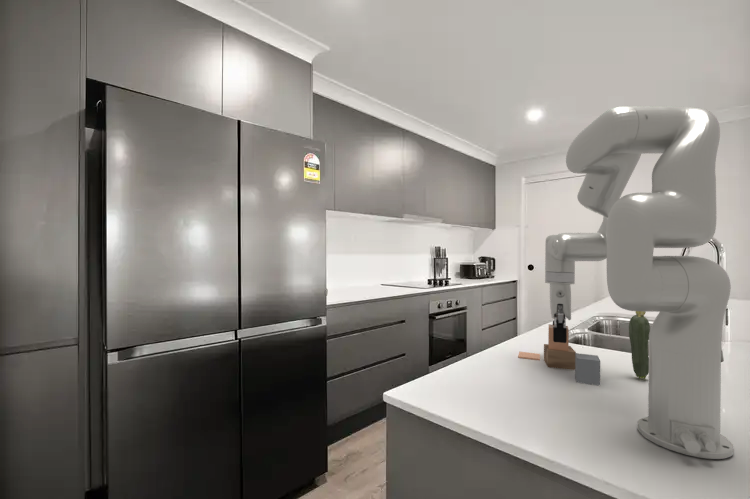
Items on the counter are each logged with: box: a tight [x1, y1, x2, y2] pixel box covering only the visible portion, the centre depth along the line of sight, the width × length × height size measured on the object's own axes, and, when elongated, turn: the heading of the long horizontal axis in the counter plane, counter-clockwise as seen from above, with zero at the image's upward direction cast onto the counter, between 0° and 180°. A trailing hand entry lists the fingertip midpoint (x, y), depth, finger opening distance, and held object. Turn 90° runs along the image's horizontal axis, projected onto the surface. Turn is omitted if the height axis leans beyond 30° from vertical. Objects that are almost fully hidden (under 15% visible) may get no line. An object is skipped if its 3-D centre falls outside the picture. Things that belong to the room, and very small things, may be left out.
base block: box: [543, 343, 577, 371], centre depth 105 cm, size 7×7×5 cm
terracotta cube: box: [547, 324, 570, 351], centre depth 105 cm, size 5×5×6 cm
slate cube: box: [574, 352, 601, 386], centre depth 92 cm, size 5×5×6 cm
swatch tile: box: [517, 351, 541, 361], centre depth 112 cm, size 6×6×1 cm
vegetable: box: [628, 311, 651, 379], centre depth 93 cm, size 4×4×20 cm
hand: (559, 338), depth 105 cm, fingers open, 9 cm apart
